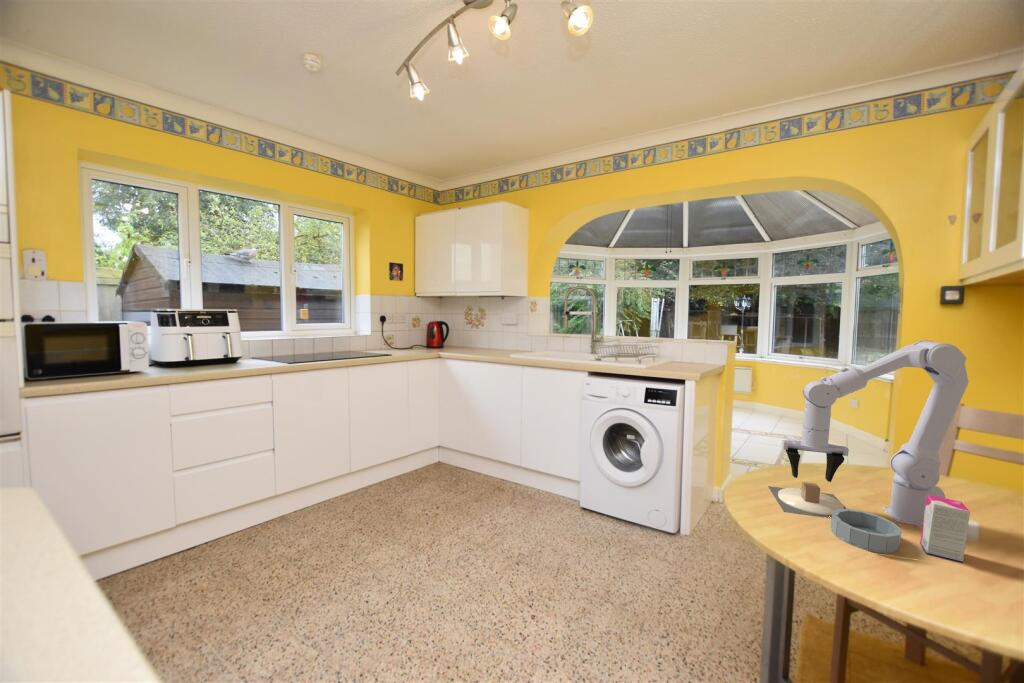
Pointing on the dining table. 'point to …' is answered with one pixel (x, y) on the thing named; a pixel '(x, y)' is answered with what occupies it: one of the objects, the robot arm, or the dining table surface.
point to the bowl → (866, 530)
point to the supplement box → (945, 528)
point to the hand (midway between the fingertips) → (811, 478)
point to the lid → (809, 500)
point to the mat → (792, 510)
